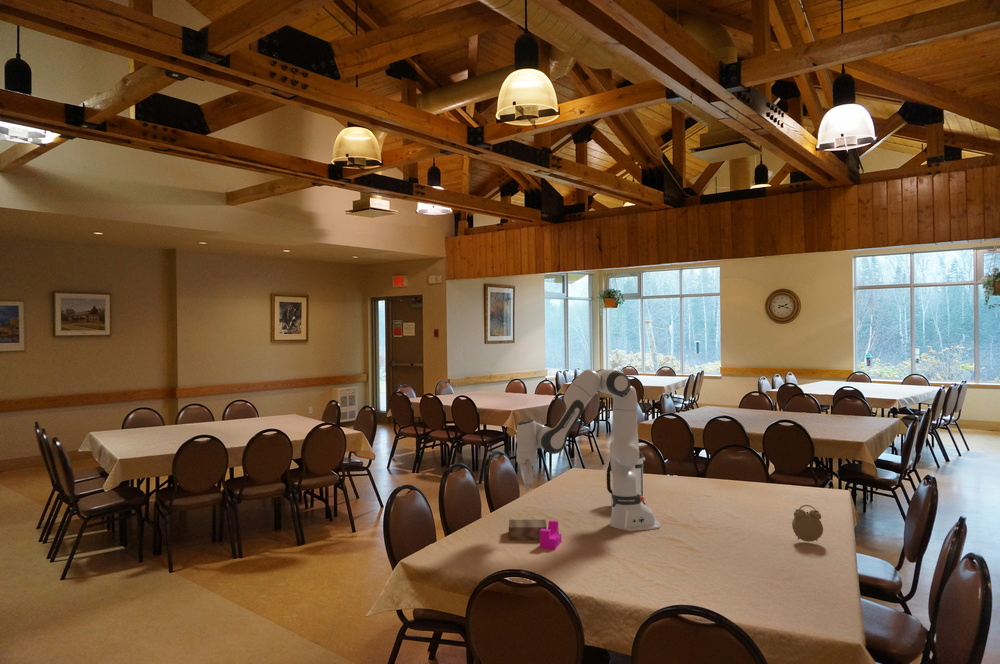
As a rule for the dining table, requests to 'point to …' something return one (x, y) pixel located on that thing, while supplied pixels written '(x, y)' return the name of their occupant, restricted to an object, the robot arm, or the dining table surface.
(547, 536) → the toy block
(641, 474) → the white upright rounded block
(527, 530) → the walnut plinth
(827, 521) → the dining table surface
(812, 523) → the alarm clock
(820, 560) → the dining table surface
